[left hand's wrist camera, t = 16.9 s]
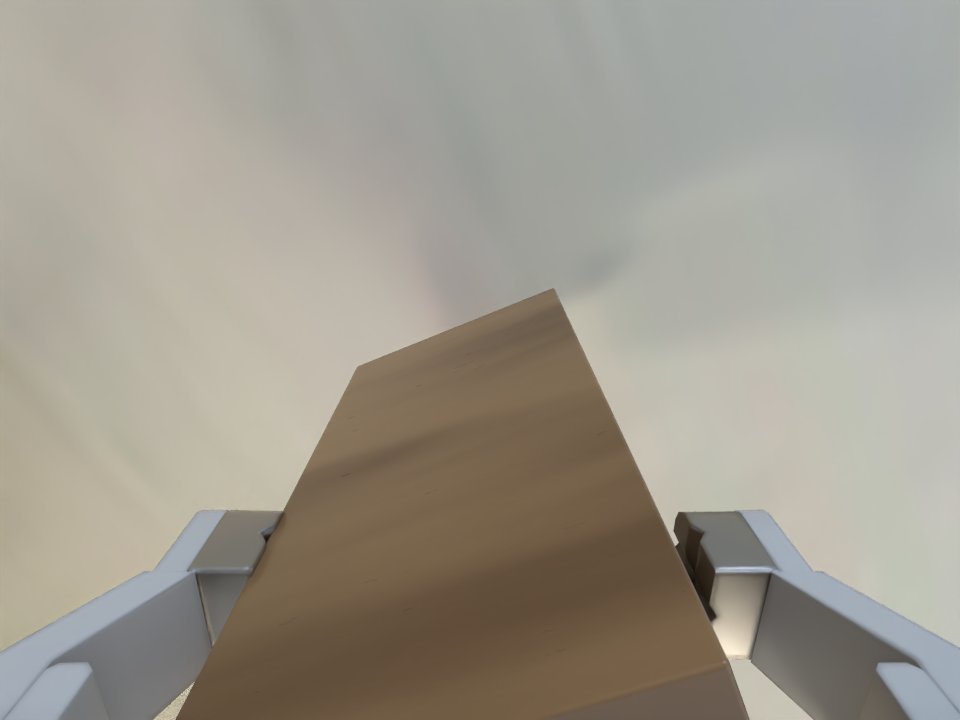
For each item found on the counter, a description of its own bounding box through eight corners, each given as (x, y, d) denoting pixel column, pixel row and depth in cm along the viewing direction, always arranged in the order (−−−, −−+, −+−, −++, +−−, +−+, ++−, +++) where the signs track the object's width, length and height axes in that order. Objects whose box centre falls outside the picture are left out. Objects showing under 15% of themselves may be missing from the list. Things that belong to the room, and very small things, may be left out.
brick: (601, 412, 17) (825, 931, 6) (417, 479, 18) (317, 1044, 7) (553, 287, 16) (730, 662, 5) (356, 366, 16) (109, 845, 5)
